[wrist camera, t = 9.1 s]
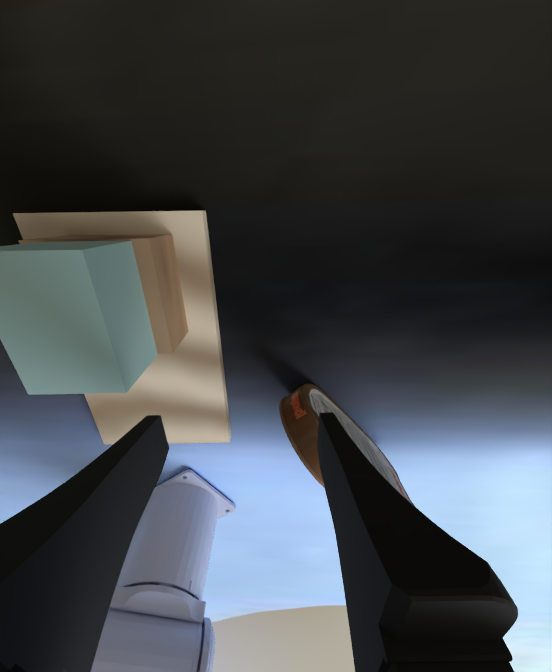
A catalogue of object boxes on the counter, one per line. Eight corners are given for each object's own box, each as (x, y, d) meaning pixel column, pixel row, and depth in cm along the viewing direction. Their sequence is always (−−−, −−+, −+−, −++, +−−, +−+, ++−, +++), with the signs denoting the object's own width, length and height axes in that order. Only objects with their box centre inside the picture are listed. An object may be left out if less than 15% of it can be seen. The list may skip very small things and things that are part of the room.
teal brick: (80, 356, 17) (28, 394, 13) (38, 242, 14) (-44, 251, 10) (157, 354, 17) (126, 392, 13) (131, 240, 14) (82, 249, 10)
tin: (275, 381, 23) (276, 462, 16) (303, 360, 23) (318, 435, 15) (368, 467, 28) (403, 561, 21) (393, 453, 27) (440, 546, 20)
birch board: (231, 434, 26) (229, 442, 25) (110, 436, 26) (104, 444, 25) (205, 210, 18) (202, 210, 17) (26, 213, 18) (12, 213, 17)
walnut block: (97, 332, 20) (64, 354, 17) (65, 235, 17) (18, 240, 14) (188, 331, 20) (172, 353, 17) (172, 233, 17) (149, 238, 14)
